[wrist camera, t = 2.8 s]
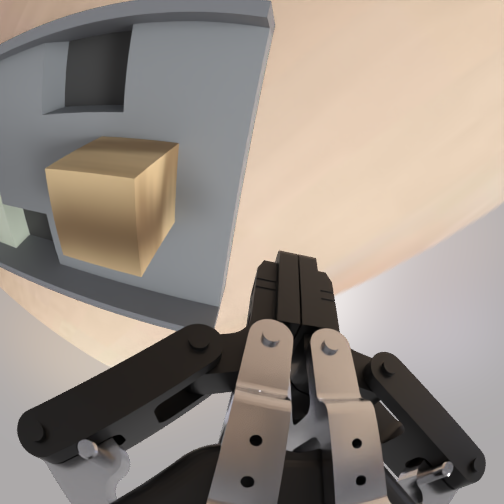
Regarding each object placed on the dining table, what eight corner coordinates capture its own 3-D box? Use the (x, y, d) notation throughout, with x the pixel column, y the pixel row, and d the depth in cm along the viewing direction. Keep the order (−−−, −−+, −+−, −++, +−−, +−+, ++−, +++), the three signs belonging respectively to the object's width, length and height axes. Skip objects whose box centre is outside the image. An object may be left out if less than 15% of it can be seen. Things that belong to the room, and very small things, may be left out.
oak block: (101, 136, 13) (45, 168, 9) (179, 143, 13) (134, 178, 9) (106, 209, 16) (63, 254, 12) (174, 222, 16) (141, 277, 12)
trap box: (-22, 69, 10) (-60, 84, 6) (274, 25, 11) (270, 1, 7) (-1, 226, 22) (-28, 252, 18) (224, 286, 23) (211, 339, 19)
